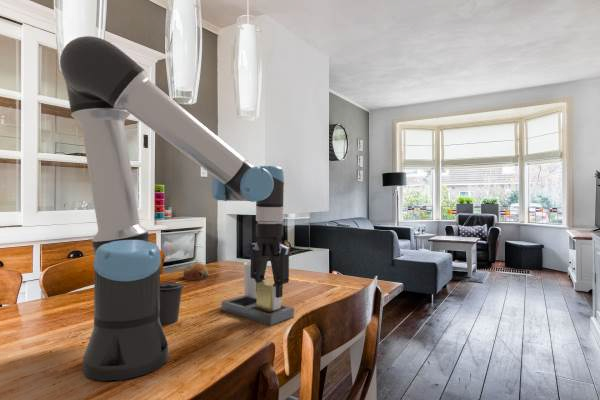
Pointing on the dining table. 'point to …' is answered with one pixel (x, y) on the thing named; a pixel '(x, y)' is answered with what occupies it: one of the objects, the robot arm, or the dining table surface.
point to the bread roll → (196, 272)
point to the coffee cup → (169, 302)
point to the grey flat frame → (256, 310)
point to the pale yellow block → (265, 295)
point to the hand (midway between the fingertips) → (268, 306)
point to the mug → (249, 281)
